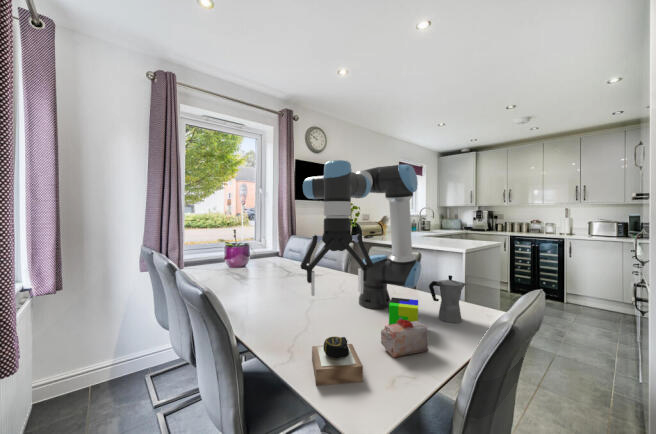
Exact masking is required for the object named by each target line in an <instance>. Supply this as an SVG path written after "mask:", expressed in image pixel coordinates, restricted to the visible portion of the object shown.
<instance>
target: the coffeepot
mask: <svg viewBox="0 0 656 434" xmlns="http://www.w3.org/2000/svg"><path fill="white" fill-rule="evenodd" d="M466 285H467V283H465V282H462V281H457V280H453V275H450V274H449V275H448V279H443V280H441V279H440V280H433V281H431V282H430V283H429V285H428V288H429V291H430V294H431V296H432V297H431V298H432V300H433V302H439V300H440V299H441V301H440V306H439V311H438V319H439V320H440V321H442V322H444V323H450V324H459V323H461V322H463V320H462V314H461V307H460V301H461V296H462V290H463V289H464V287H465V286H466ZM434 287H439V293H440V294H439V295H440V299H439V298H437V297H436V293H435V288H434Z"/></svg>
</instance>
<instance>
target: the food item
mask: <svg viewBox="0 0 656 434" xmlns="http://www.w3.org/2000/svg"><path fill="white" fill-rule="evenodd" d="M428 335H429V334H428V327H427V326H425V325H424V323H423V322H421V321H419V320H418V321H413V322H410V321H409V320H407V321H406V320H403V319H402V318H401V317H400V318H399V320H398V321H397V323H396V324H391V325H389V324H388V325H384V327H383V329H381V330H380V339H381V340H380V344H381V345H382V346H383V348H384V349H385V350H386V351H387V352H388V353H389V354H390V355H391V357H393V358H398V357H403V356H406V355H413V354H419V353H423V352H429V347H428V346H429V338H428V337H429V336H428Z"/></svg>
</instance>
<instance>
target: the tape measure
mask: <svg viewBox="0 0 656 434" xmlns="http://www.w3.org/2000/svg"><path fill="white" fill-rule="evenodd" d="M347 344H348V339H347V338H346V337H345V336H342V337H339V336H329V337H327V338H325V340H324V341H323V346H324V352H325V354H326V355H327V356H329V357H332V358H342V357H347V356H348V355H349V348H348V346H347Z"/></svg>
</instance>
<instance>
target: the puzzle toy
mask: <svg viewBox="0 0 656 434" xmlns="http://www.w3.org/2000/svg"><path fill="white" fill-rule="evenodd" d="M390 300H391V301H390V304H389V307H388V325H391V324H396V323H397V321H398V320H399V318H400V317H401V318H402V319H403V320H406V321H407V320H409V321H410V322H413V321H419V299H409V298H402V297H401V298H399V297H390Z"/></svg>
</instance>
